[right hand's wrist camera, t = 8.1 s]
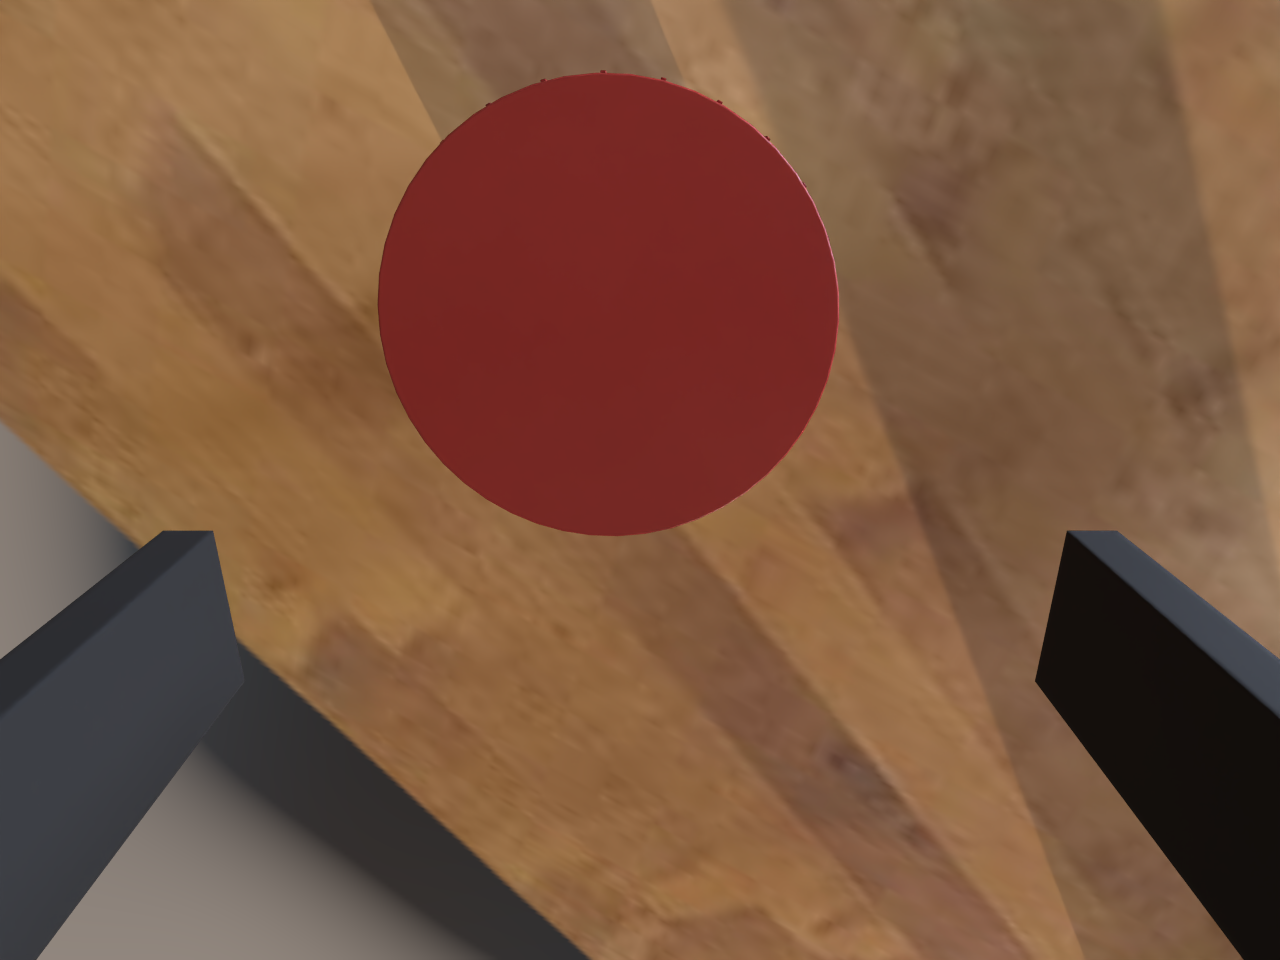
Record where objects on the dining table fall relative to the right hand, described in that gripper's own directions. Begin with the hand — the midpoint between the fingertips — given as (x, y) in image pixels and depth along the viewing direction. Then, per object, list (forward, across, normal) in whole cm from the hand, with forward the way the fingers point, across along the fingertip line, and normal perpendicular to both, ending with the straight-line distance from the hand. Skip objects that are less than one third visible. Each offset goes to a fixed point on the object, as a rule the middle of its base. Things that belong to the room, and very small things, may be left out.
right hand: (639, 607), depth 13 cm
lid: (+7, -1, +3) cm, 8 cm away
